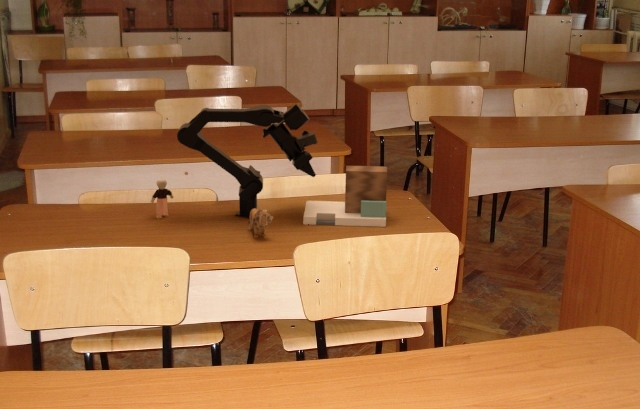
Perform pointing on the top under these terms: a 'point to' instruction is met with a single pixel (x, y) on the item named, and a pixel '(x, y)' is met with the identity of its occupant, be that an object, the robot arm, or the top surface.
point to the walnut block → (364, 186)
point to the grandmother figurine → (161, 198)
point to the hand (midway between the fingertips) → (314, 176)
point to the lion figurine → (259, 220)
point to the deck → (345, 214)
